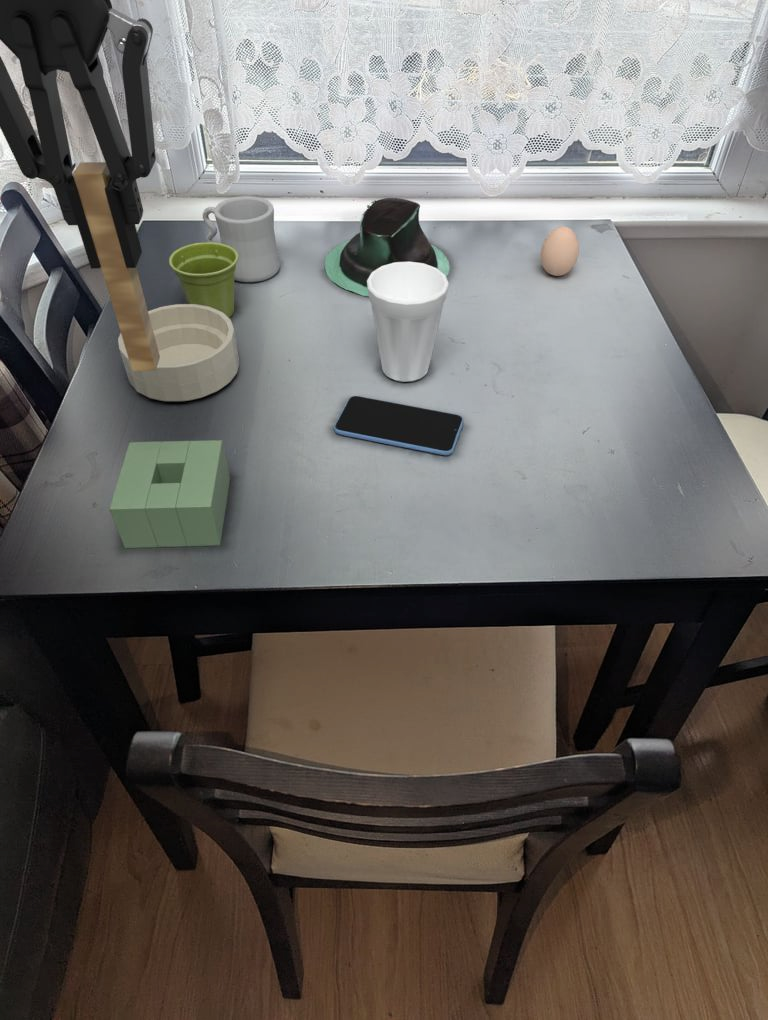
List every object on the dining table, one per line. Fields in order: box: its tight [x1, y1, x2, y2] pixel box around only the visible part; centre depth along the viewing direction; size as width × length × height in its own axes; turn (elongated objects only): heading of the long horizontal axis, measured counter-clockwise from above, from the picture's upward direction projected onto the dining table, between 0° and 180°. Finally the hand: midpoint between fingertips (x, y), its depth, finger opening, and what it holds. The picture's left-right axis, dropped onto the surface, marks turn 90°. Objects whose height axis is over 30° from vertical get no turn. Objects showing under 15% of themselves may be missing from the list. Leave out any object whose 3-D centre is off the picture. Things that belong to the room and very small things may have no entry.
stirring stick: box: [72, 161, 160, 371], centre depth 62 cm, size 2×2×18 cm
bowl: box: [117, 303, 240, 402], centre depth 95 cm, size 14×14×6 cm
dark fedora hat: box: [324, 197, 450, 297], centre depth 116 cm, size 15×19×20 cm
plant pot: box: [168, 241, 238, 319], centre depth 104 cm, size 9×9×9 cm
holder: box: [109, 439, 231, 549], centre depth 78 cm, size 10×10×6 cm
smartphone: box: [333, 395, 464, 456], centre depth 89 cm, size 7×1×15 cm
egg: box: [540, 226, 580, 277], centre depth 113 cm, size 6×6×8 cm
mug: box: [202, 195, 281, 283], centre depth 113 cm, size 12×9×10 cm
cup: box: [367, 262, 450, 383], centre depth 93 cm, size 10×10×13 cm
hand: (116, 259), depth 61 cm, fingers closed on stirring stick, 2 cm apart
